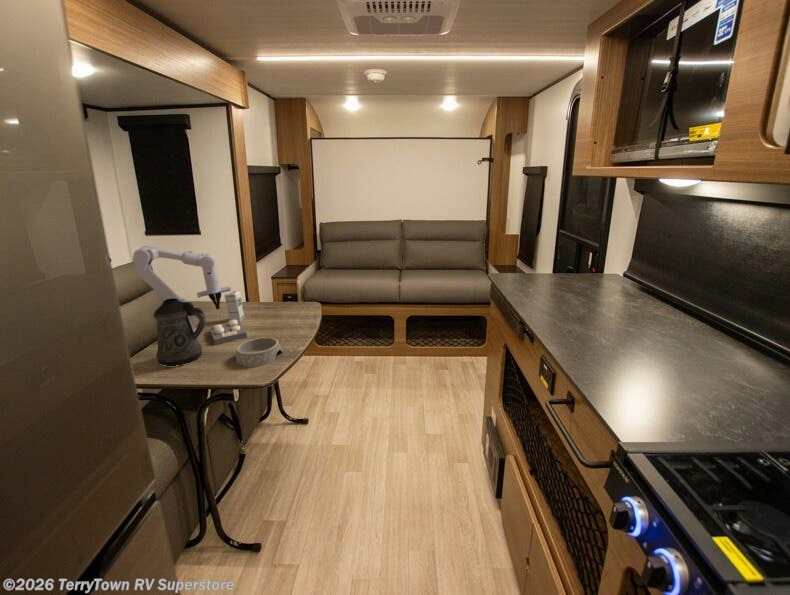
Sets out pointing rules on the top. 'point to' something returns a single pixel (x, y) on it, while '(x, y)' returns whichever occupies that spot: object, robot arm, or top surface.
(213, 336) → the button board
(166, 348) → the beer stein
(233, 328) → the button front right
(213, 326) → the button back left
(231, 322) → the button back right
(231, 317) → the syrup box
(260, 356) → the dog bowl
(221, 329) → the button front left
